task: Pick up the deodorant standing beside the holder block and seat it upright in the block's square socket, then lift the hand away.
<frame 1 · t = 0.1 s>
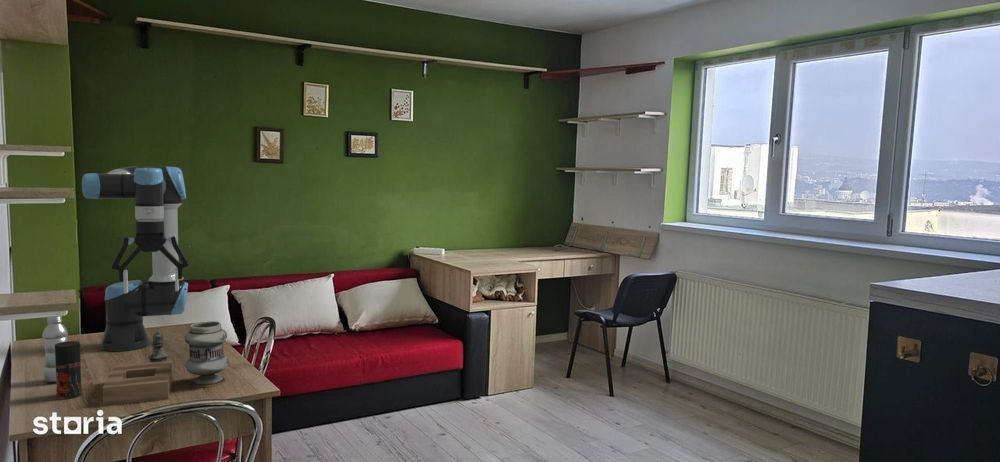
hand: (151, 291, 204), 28 cm above the table, tool pointing down, fingers open, 13 cm apart
holder block: (140, 390, 200), on the table
salt shaker: (158, 367, 223), on the table
apothecary jar: (207, 382, 208), on the table
plastic bottle: (57, 381, 206), on the table
deodorant: (69, 396, 194), on the table
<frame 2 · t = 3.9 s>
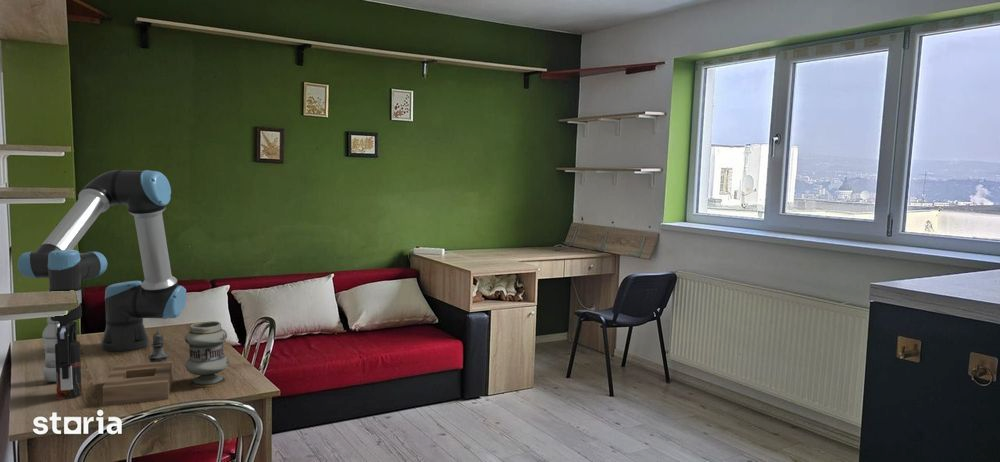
hand: (69, 385, 194), 3 cm above the table, tool pointing down, fingers closed on deodorant, 6 cm apart
deodorant: (69, 396, 194), on the table, touching gripper
everything else where it was.
when the fingers open (5 cm above the table, at t = 10.3 s): deodorant drops 1 cm, resting on holder block.
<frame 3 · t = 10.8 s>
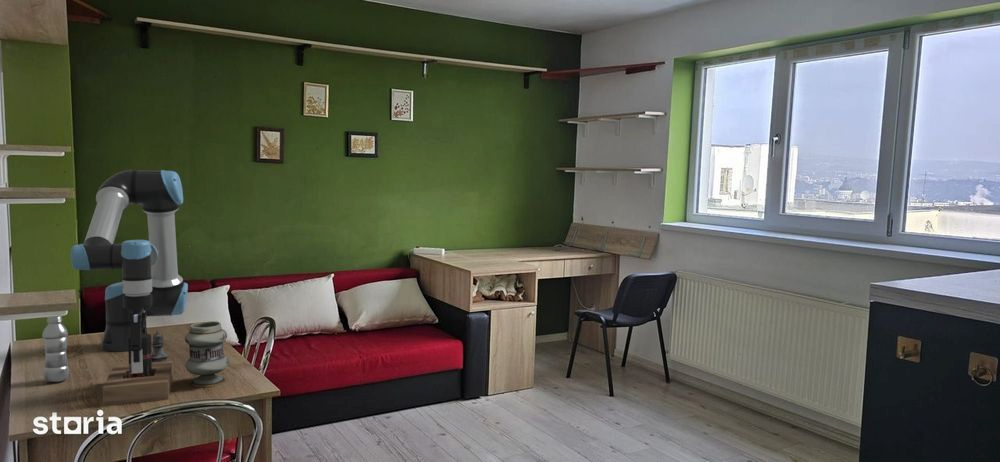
hand: (139, 366, 199), 7 cm above the table, tool pointing down, fingers open, 12 cm apart
deodorant: (140, 387, 200), point 1 cm above the table, touching holder block
everything else where it was.
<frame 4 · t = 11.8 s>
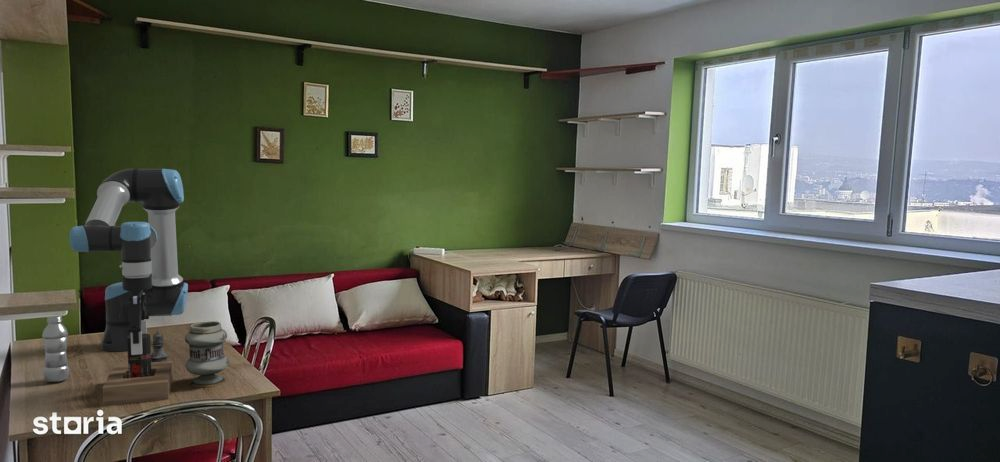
hand: (139, 347, 199), 12 cm above the table, tool pointing down, fingers open, 13 cm apart
nothing on the table moved.
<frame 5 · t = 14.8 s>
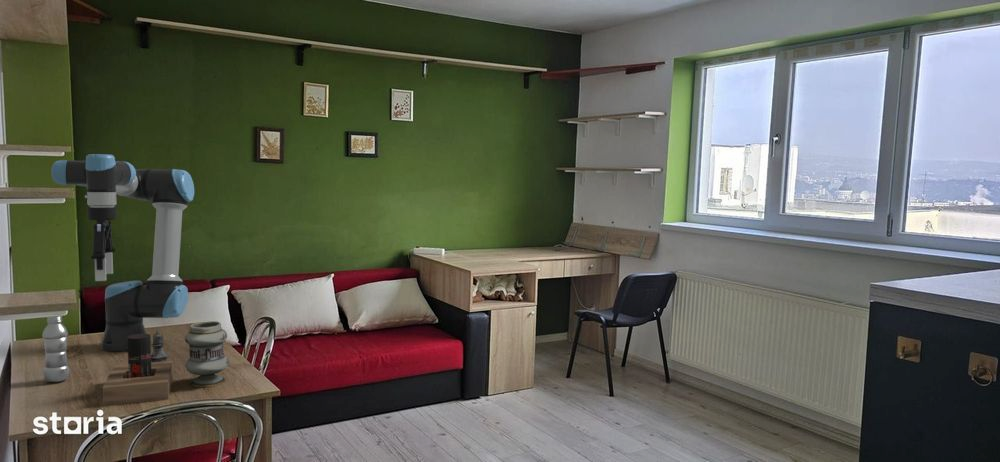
hand: (104, 277, 205), 32 cm above the table, tool pointing down, fingers open, 13 cm apart
nothing on the table moved.
at the end: deodorant 0.2 cm off-centre on the holder block, point 0.8 cm above the holder block's base; deodorant tilted 0°; the gripper is holding nothing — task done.
